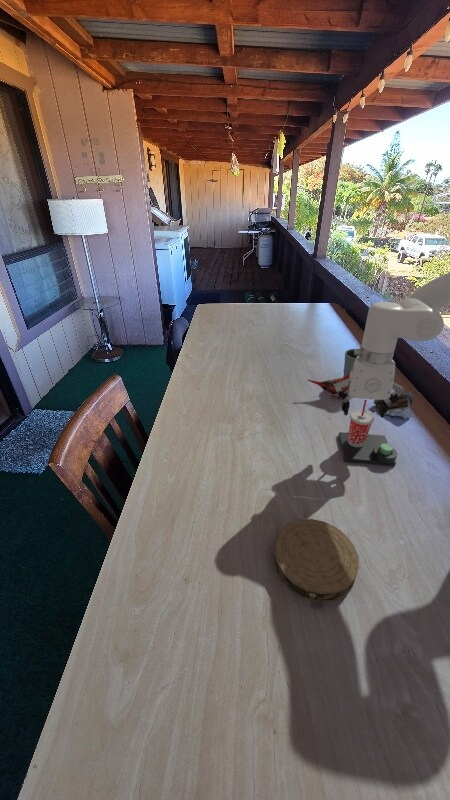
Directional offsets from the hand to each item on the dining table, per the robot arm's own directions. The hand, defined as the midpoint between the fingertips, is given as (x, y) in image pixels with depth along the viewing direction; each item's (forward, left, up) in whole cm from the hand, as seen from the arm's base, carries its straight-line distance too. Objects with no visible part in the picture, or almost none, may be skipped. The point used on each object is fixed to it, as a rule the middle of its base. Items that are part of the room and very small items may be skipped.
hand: (362, 413), depth 94 cm
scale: (-2, +1, -11) cm, 12 cm away
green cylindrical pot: (-6, -40, -11) cm, 42 cm away
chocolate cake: (-15, -20, -11) cm, 27 cm away
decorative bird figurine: (+4, -28, -11) cm, 30 cm away
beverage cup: (0, 0, -10) cm, 10 cm away
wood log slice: (+15, +38, -11) cm, 43 cm away
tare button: (-6, +5, -9) cm, 12 cm away
